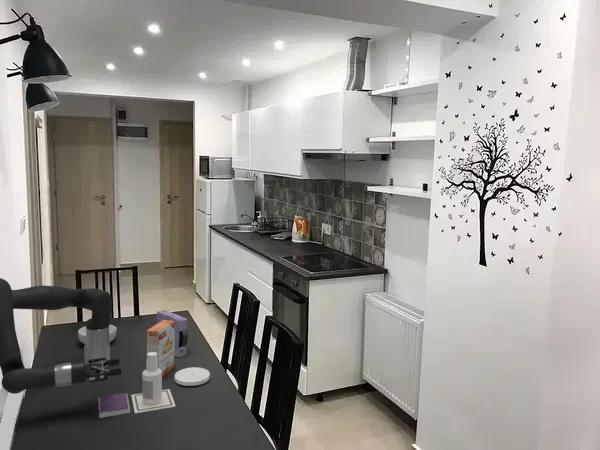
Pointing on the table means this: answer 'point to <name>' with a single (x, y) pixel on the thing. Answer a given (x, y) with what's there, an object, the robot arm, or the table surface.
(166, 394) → the marked sheet
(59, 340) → the table surface
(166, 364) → the cracker box
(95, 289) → the robot arm
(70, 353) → the table surface
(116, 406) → the ink pad
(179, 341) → the cake pan box
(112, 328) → the cereal bowl
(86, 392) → the table surface
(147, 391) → the spray bottle
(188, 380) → the plastic lid
